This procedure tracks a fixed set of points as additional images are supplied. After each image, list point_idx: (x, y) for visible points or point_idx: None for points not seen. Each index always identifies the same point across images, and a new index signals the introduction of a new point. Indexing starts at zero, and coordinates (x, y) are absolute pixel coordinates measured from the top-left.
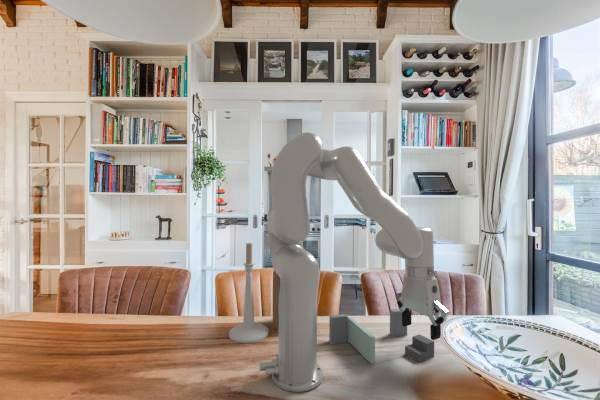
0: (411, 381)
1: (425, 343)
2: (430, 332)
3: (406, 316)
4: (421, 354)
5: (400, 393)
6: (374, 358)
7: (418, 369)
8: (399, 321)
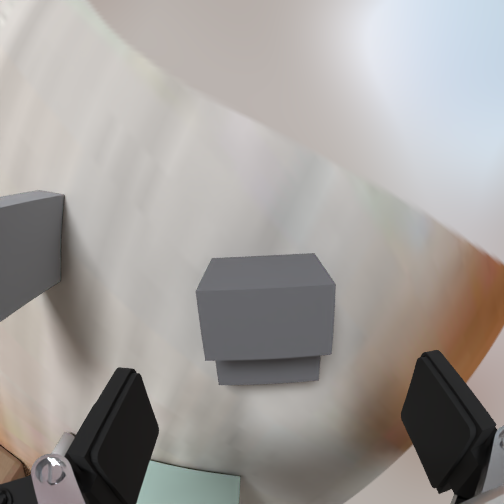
0: (369, 441)
1: (317, 353)
2: (415, 448)
3: (130, 472)
4: (319, 365)
5: (377, 475)
6: (239, 488)
7: (344, 392)
8: (8, 269)
